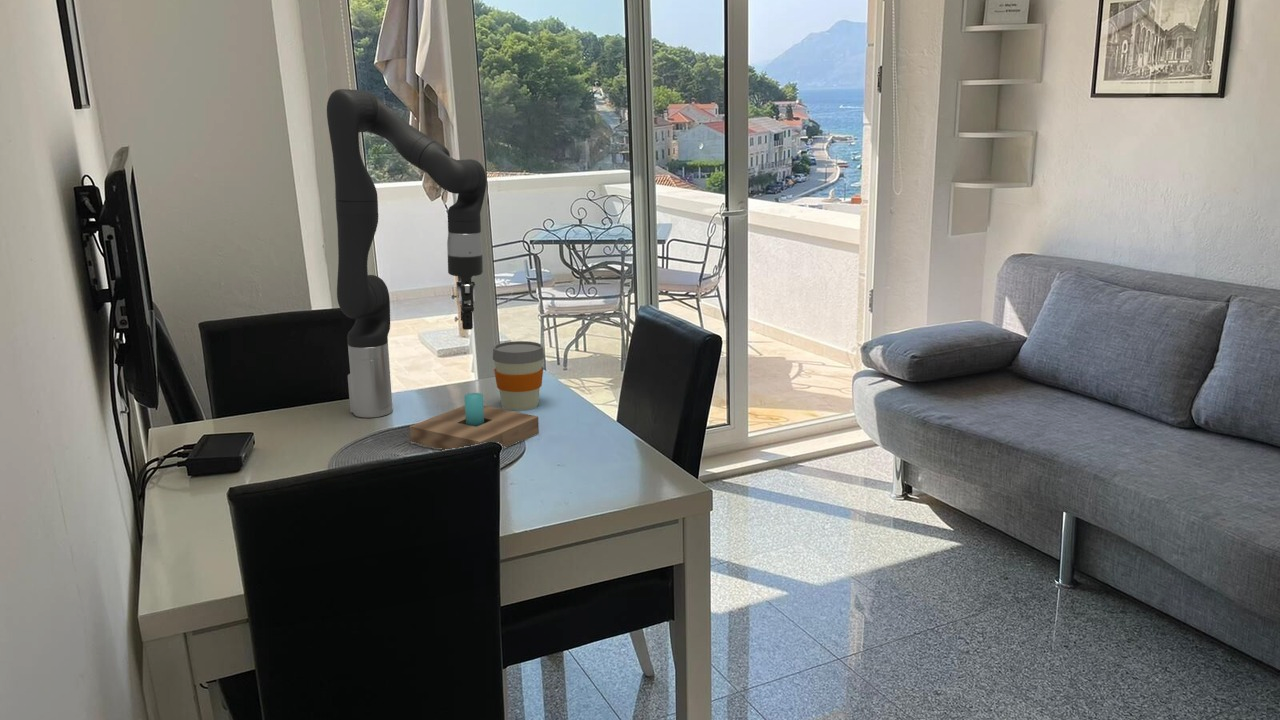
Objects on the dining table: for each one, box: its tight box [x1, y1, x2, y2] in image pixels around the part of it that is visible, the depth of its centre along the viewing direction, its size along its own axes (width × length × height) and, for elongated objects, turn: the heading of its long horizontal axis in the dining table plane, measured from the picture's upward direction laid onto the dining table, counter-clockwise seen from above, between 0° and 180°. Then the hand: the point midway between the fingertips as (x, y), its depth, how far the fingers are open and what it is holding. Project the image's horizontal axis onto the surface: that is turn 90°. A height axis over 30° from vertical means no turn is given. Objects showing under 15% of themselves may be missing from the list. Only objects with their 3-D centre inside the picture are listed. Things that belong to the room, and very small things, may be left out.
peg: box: [464, 392, 485, 427], centre depth 204 cm, size 4×4×10 cm
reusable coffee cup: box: [492, 340, 545, 412], centre depth 228 cm, size 13×13×15 cm
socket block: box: [409, 404, 540, 451], centre depth 205 cm, size 20×20×4 cm
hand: (466, 325), depth 206 cm, fingers open, 8 cm apart
